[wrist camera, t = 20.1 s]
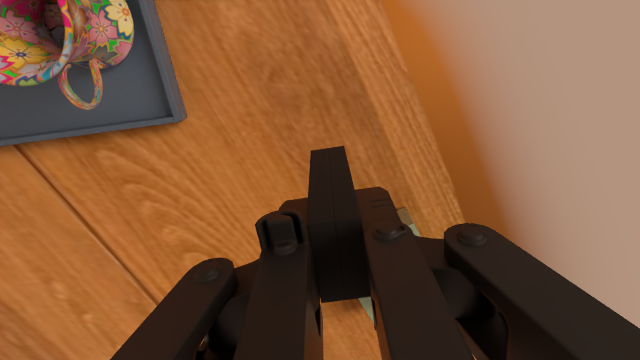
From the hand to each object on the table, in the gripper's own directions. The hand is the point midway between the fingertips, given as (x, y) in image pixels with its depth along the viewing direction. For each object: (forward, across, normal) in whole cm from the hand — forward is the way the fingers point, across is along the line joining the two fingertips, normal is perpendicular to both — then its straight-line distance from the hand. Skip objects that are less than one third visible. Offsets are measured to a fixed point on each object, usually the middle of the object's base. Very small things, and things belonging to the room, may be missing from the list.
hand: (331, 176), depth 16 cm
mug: (+22, -20, +9) cm, 31 cm away
